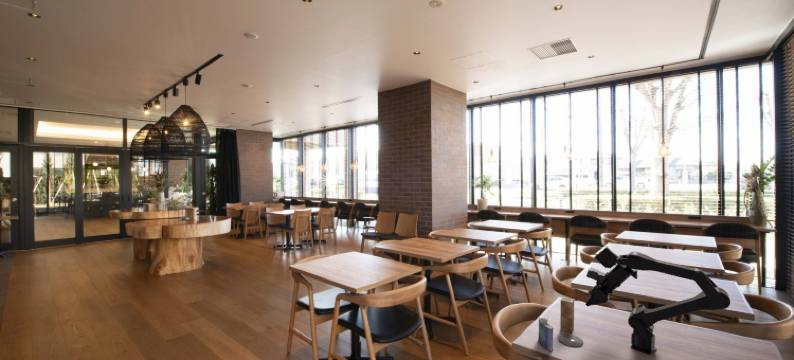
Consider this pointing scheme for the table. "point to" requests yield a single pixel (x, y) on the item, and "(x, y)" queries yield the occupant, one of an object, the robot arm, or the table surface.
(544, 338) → the flask
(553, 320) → the table surface
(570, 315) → the walnut block
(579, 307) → the table surface
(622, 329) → the table surface
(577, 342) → the slate coaster
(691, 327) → the table surface
